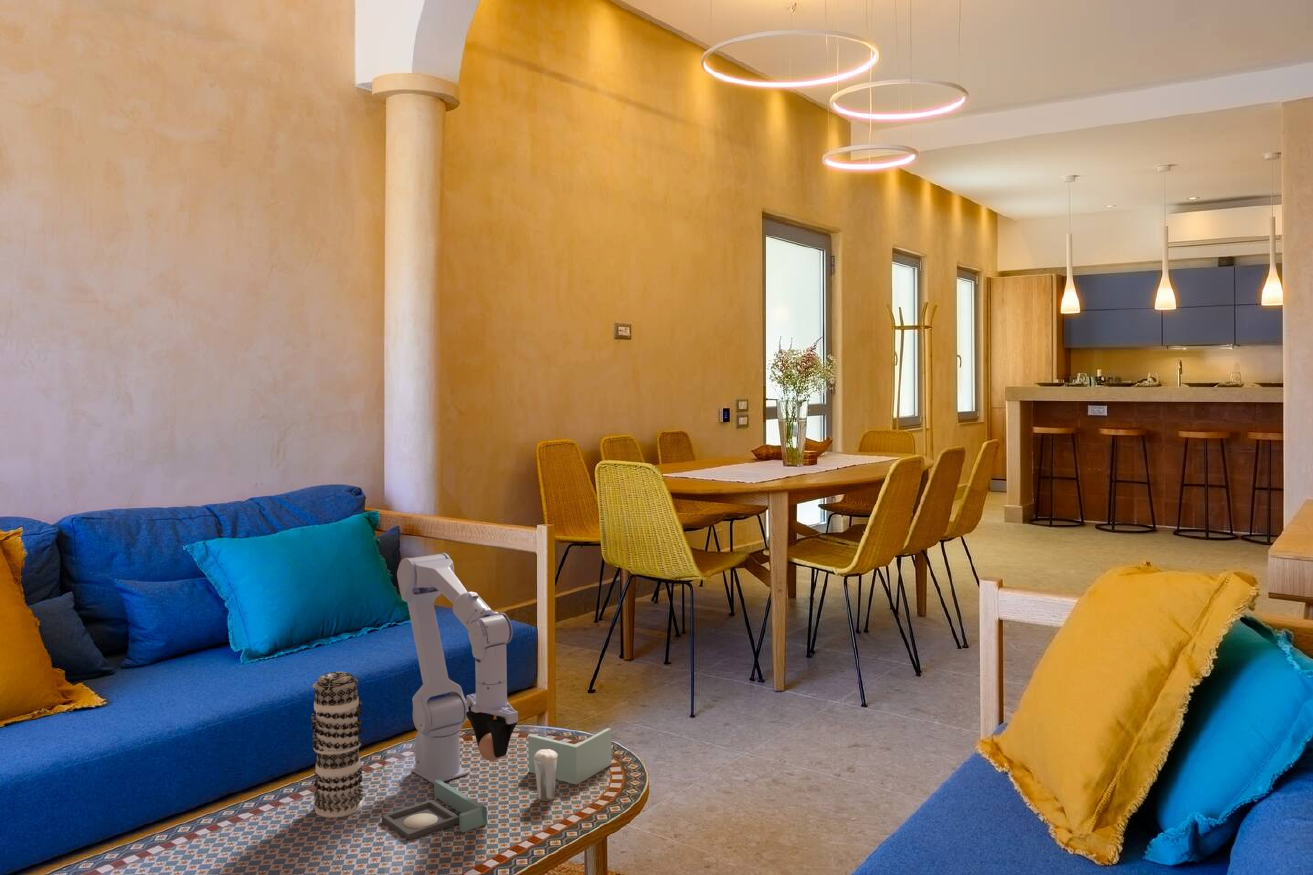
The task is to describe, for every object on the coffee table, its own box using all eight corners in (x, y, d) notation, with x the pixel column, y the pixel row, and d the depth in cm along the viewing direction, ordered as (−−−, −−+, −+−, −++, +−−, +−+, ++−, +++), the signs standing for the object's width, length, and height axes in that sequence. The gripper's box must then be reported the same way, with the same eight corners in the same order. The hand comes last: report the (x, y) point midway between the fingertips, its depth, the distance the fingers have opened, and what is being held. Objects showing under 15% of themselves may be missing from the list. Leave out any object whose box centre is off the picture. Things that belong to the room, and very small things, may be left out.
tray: (381, 821, 178) (381, 815, 178) (431, 805, 184) (431, 799, 184) (408, 840, 170) (408, 834, 170) (459, 823, 177) (459, 816, 177)
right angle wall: (611, 764, 204) (611, 728, 204) (576, 784, 194) (576, 747, 193) (565, 753, 210) (564, 718, 210) (528, 772, 200) (528, 735, 200)
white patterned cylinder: (374, 806, 184) (371, 674, 183) (329, 823, 177) (325, 685, 176) (348, 792, 190) (345, 664, 189) (303, 808, 184) (300, 675, 182)
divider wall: (415, 802, 186) (414, 786, 186) (438, 794, 189) (438, 779, 189) (462, 832, 173) (462, 815, 173) (487, 823, 177) (486, 807, 177)
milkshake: (558, 804, 185) (557, 751, 184) (531, 801, 186) (530, 749, 185) (565, 794, 189) (564, 742, 189) (538, 792, 190) (538, 741, 190)
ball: (473, 759, 185) (473, 733, 185) (496, 752, 188) (496, 726, 188) (488, 767, 181) (487, 740, 181) (511, 759, 185) (510, 733, 184)
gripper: (452, 675, 187) (453, 746, 187) (494, 693, 176) (495, 768, 177) (484, 668, 191) (485, 737, 192) (527, 685, 181) (528, 758, 181)
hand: (492, 751), depth 185 cm, fingers closed on ball, 5 cm apart
